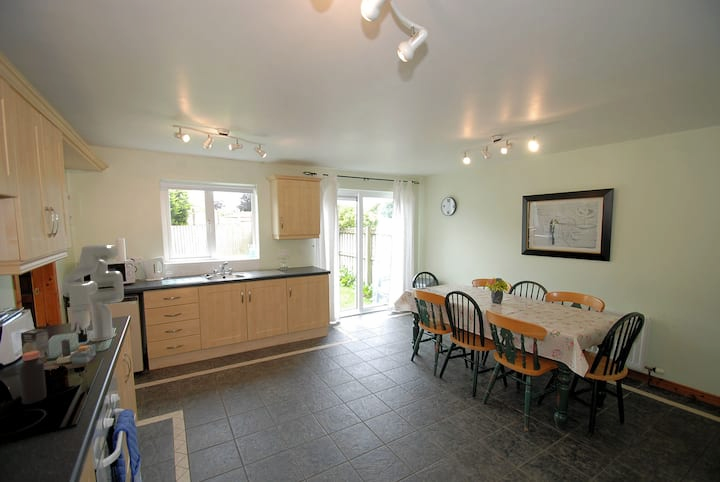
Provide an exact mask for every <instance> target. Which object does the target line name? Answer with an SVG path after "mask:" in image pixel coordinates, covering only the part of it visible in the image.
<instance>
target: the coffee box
mask: <svg viewBox="0 0 720 482" xmlns="http://www.w3.org/2000/svg"><path fill="white" fill-rule="evenodd" d="M20 339H21V351H22V354H24V353H27V352H31V351H39V352H40V356H42V355H46V360H47V359H50V357H51V355H50V343H49V342H50V341H49V331H48V329H42V328H41V329H39V328H38V329H37V328H33V329H30V330H27V331H26V330H25V331H23V332H20Z"/></svg>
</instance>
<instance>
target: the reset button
mask: <svg viewBox="0 0 720 482" xmlns="http://www.w3.org/2000/svg"><path fill="white" fill-rule="evenodd" d="M89 345H90V344H88V345H81V346H79V347H78V348H77V349H78V351H83V350H88V349H89Z"/></svg>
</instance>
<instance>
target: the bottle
mask: <svg viewBox="0 0 720 482" xmlns="http://www.w3.org/2000/svg"><path fill="white" fill-rule="evenodd" d="M21 358H22V362H23V364H22V365H20V367H19V376H20V385H21V394H22V395H21V397H22V404H24V405H32V404H35V403H38V402H41V401H43V400H44V399H46V398H47V384H46V383H47V382H46V373H45V371H44V362H43V361H41V360H39V358H40V352H39V351H31V352H27V353H24V354H23V353H22V354H21Z"/></svg>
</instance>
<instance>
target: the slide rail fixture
mask: <svg viewBox="0 0 720 482" xmlns="http://www.w3.org/2000/svg"><path fill="white" fill-rule="evenodd" d="M88 345H89V349H88V350H83V351H78V348H77V349H76V350H75V351H73V352H74V353H73V354H72V355H71V358H72V360H71V361H70V362H66V363H60V364H57V359H55V360H49V361H47V359H46V355H42V356H40V358H39V360H41V361H43V362H44V370H52V369H57V368H59V366H62V365H63V366H65V367H66V368H67V369H66V370H70V369H75V368H82V367H86V366H88V365H89V364H90V363H91V362H92V361H93V359H94V358H96V355H97V348H96V343H95V344H94V343H93V344H88Z"/></svg>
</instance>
